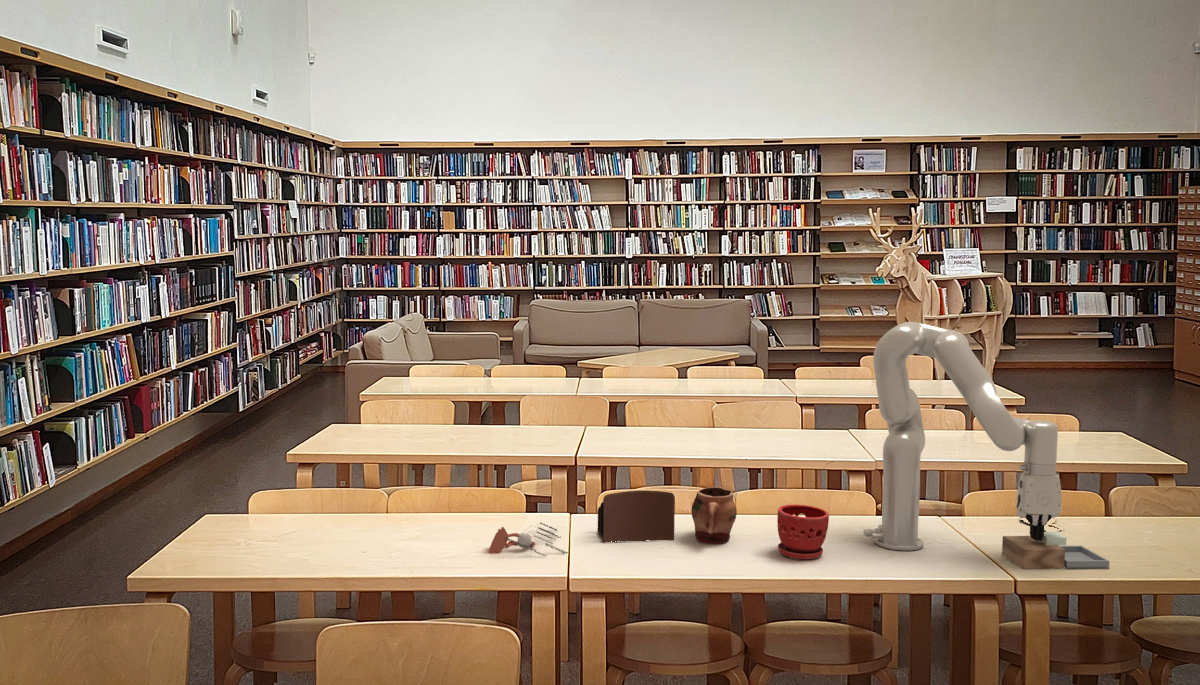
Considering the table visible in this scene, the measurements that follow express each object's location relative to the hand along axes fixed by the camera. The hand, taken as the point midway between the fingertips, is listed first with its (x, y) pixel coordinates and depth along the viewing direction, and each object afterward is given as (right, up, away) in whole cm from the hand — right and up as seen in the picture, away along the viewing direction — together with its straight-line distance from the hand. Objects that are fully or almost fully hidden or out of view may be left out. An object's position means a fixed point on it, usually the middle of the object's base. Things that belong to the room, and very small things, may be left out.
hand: (1036, 539), depth 264 cm
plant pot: (-59, -5, +4) cm, 60 cm away
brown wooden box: (-1, -6, +1) cm, 6 cm away
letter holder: (-102, -3, +20) cm, 104 cm away
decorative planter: (-81, -4, +16) cm, 83 cm away
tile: (+4, -1, 0) cm, 4 cm away
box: (+10, -6, +1) cm, 12 cm away
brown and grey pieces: (-130, -4, +12) cm, 130 cm away
